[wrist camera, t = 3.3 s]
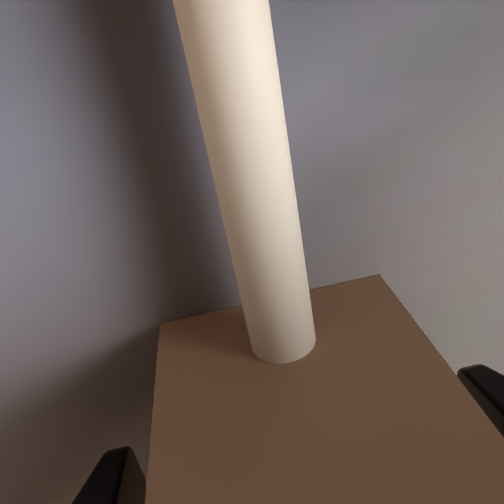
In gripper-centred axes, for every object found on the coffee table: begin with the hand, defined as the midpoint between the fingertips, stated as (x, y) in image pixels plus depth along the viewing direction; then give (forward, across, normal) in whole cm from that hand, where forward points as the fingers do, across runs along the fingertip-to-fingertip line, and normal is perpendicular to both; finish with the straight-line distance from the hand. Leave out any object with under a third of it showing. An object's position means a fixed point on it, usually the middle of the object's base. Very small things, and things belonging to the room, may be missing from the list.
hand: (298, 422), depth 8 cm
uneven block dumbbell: (+1, 0, -7) cm, 7 cm away
